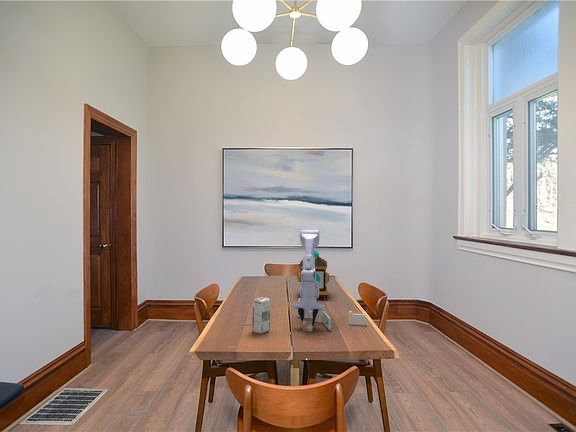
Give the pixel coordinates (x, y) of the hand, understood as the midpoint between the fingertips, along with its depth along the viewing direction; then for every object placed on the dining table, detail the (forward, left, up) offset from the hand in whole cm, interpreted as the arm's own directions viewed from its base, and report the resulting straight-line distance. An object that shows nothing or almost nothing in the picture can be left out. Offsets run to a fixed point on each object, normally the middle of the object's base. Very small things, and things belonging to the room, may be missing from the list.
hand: (308, 325), depth 155 cm
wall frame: (+12, +9, -1) cm, 15 cm away
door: (+7, +4, -1) cm, 8 cm away
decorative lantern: (-5, +56, -2) cm, 56 cm away
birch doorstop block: (0, 0, -2) cm, 2 cm away
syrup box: (-20, -8, -2) cm, 22 cm away
